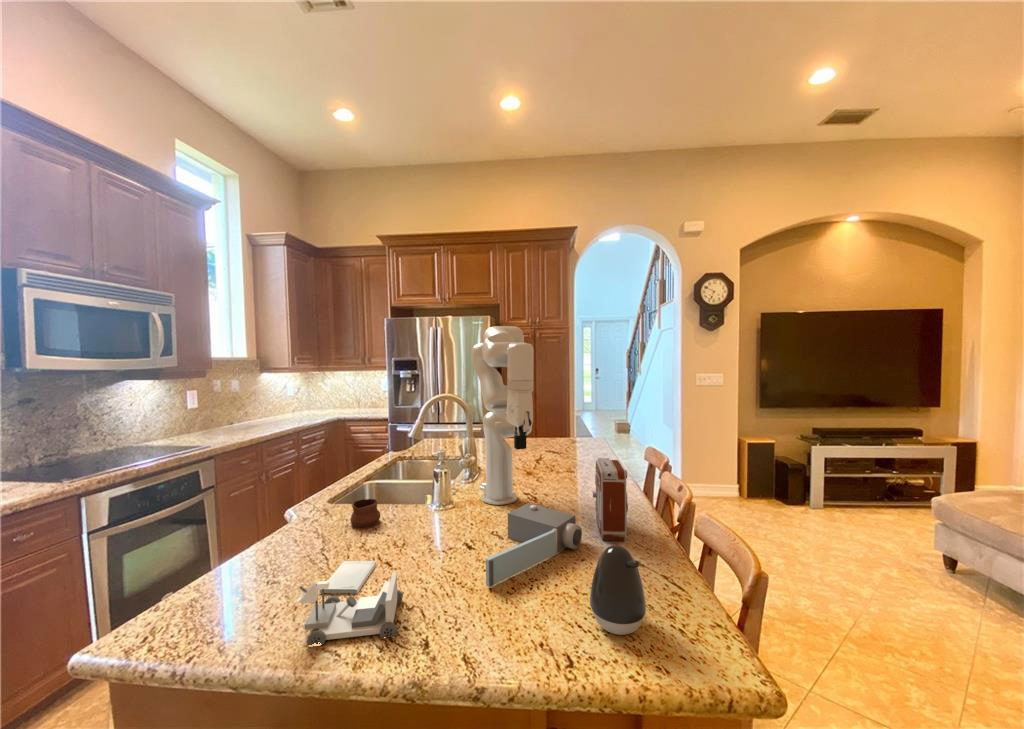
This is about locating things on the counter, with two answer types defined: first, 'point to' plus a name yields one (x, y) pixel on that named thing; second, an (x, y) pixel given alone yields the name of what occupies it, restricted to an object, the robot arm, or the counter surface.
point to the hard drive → (350, 577)
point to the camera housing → (543, 525)
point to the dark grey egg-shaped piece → (617, 592)
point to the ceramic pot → (365, 513)
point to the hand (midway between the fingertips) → (520, 448)
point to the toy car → (351, 613)
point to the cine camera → (611, 499)
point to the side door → (520, 557)
